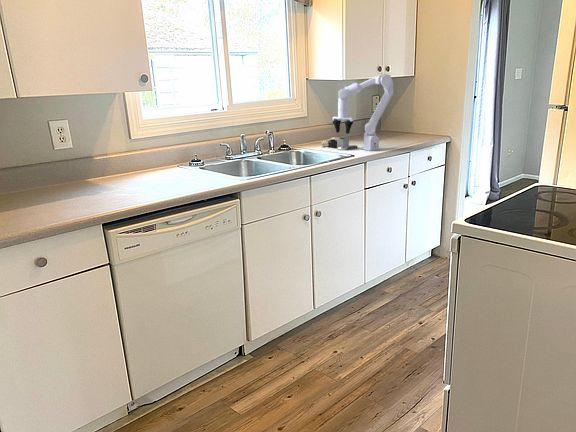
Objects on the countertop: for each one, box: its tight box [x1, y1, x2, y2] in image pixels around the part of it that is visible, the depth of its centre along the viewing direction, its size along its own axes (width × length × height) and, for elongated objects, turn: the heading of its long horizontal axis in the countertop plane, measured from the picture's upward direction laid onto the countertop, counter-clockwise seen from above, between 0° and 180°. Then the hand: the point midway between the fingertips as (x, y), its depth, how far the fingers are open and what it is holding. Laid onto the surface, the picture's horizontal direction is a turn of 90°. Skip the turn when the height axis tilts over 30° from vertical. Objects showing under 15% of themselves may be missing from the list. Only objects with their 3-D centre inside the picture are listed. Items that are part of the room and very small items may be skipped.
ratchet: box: [337, 144, 358, 151], centre depth 282 cm, size 13×6×4 cm, turn 118°
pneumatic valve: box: [321, 136, 340, 149], centre depth 292 cm, size 6×12×12 cm
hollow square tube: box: [337, 137, 350, 148], centre depth 280 cm, size 5×5×5 cm
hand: (342, 132), depth 278 cm, fingers open, 7 cm apart
